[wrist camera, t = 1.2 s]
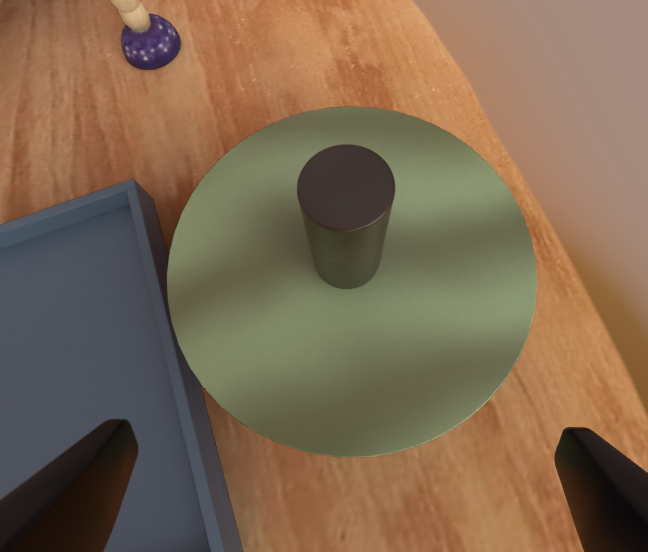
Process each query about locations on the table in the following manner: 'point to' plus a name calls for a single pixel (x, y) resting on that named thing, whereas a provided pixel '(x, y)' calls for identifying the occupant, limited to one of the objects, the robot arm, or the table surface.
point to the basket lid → (351, 282)
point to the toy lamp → (146, 36)
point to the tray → (107, 367)
